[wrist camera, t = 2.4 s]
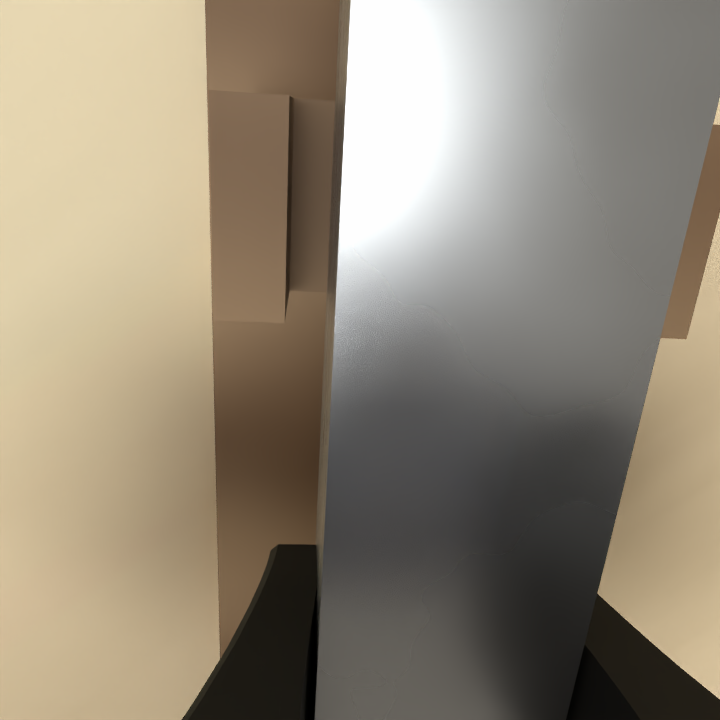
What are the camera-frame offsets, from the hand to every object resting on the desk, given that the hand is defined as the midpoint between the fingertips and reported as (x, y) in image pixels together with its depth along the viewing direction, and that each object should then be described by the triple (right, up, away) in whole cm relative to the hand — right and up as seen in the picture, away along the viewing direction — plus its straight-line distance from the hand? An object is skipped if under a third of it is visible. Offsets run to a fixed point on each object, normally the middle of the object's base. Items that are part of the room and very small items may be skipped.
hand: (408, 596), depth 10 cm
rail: (0, 0, 0) cm, 0 cm away
